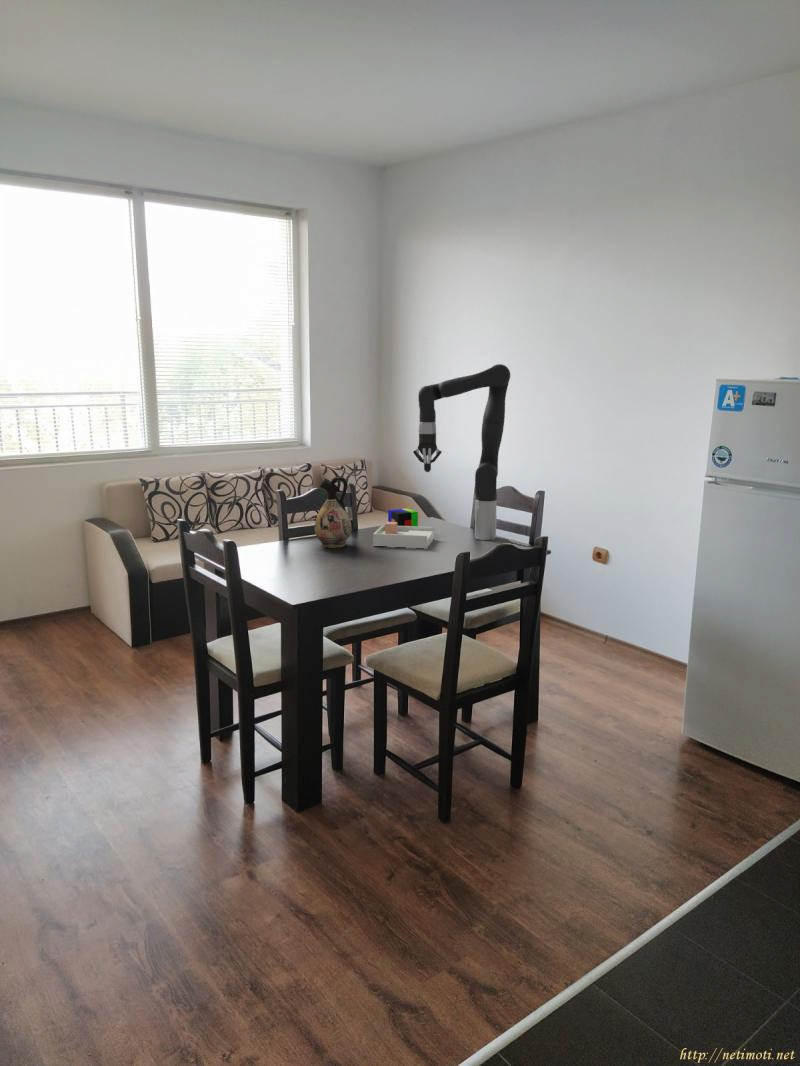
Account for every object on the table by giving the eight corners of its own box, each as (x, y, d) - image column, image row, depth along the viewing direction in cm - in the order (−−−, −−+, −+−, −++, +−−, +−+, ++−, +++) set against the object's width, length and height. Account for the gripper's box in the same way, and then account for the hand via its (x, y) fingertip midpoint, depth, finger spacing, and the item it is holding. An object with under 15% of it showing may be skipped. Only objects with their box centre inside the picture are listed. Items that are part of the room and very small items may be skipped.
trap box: (433, 539, 336) (433, 527, 335) (426, 548, 318) (427, 536, 317) (382, 537, 340) (382, 525, 339) (373, 546, 323) (373, 533, 322)
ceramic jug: (313, 550, 316) (312, 478, 310) (316, 542, 331) (314, 473, 325) (355, 550, 317) (354, 478, 310) (355, 541, 332) (354, 473, 325)
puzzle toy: (388, 531, 352) (388, 510, 350) (407, 529, 357) (407, 508, 355) (398, 535, 344) (398, 513, 342) (417, 533, 348) (417, 511, 346)
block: (397, 532, 331) (397, 522, 330) (395, 534, 327) (395, 524, 326) (387, 531, 332) (387, 521, 331) (385, 534, 328) (385, 523, 327)
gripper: (443, 431, 335) (443, 471, 339) (414, 431, 338) (414, 470, 342) (441, 433, 328) (441, 473, 332) (411, 433, 331) (411, 472, 334)
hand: (427, 471), depth 337 cm, fingers closed
